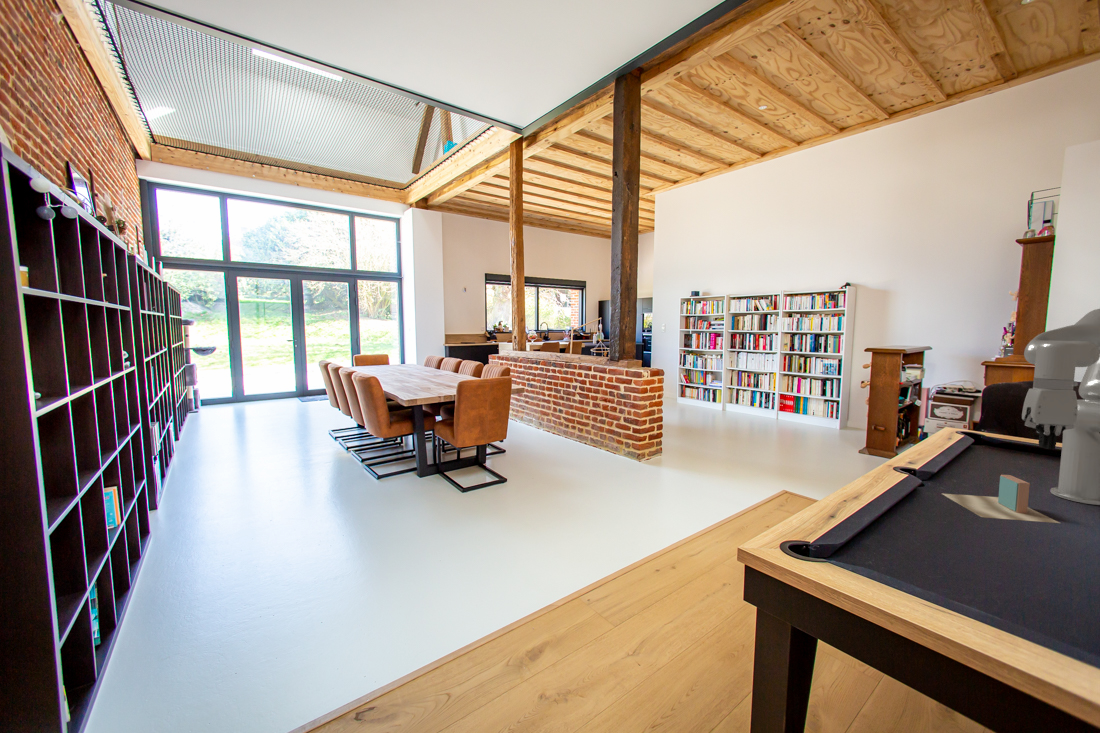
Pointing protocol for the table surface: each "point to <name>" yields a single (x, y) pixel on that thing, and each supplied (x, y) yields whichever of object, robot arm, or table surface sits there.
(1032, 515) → the board
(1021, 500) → the tile
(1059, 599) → the table surface
